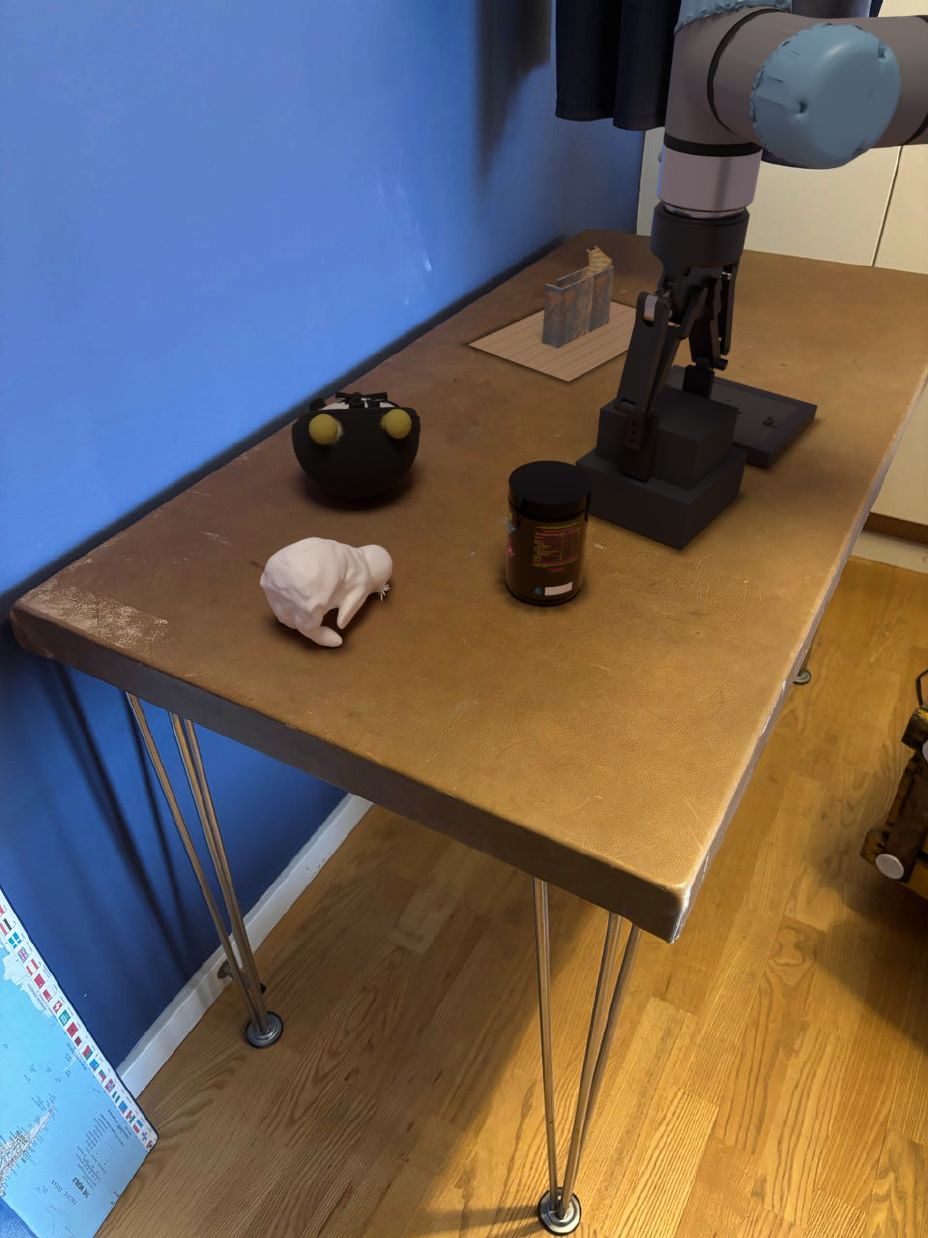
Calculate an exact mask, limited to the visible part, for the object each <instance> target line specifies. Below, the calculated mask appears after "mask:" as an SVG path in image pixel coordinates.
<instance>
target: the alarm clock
mask: <svg viewBox="0 0 928 1238" xmlns="http://www.w3.org/2000/svg"><path fill="white" fill-rule="evenodd" d="M334 399H335V400H337V402H333V403H331V404H329V405H327V404H326V403H327V402H325V400H324V399H323V397H318V398H316V399H314V400H313V401H311V402H310V403H309V406H308V408H309V411H307V412H304V413H301V414H300V415H299V416H298V417H297V419H296V421H295V422H294V423H293V424H292V425H291V443H292V447H293V448H292V449H293V451H294V455H295V457H296V460H297V462H298V464H299V466H300V468H301V469H302V470H303V472H304V473H305V474H306V476H307V477H308V478H309V479H310V480H311V481H312V482H313V483H314V484H315V485H317V487H319V488H321V489H323V490H324V491H326V492H327V493H329V494H332V495H334V496H336V497H337V496H338V497H340V498H341V497H342V498H347V499H357V500H358V499H368V498H372V497H375V496H377V495H381V494H384V493H385V492H388V491H389V490H390V489H392V488H394V487H395V486H396V485H397V484H399V483H400V482H401V481H403V479H404V478H405V476H406V475H407V474H408V472H409V470H410V469H411V468H412V466H413V464H414V462H415V460H416V457H417V454H418V451H419V447H420V446H419V445H420V436H421V430H422V429H421V428H422V427H421V426H422V425H421V417H420V415H418V413H417V410H416V409H415V408H412V407H408V406H400V405H399V404H397V403H395V402H393V401H391V400H389V397H388V392H387V391H384V392H383V391H382V392H375V393H374V392H373V393H367V394H362V392H360V391H354V392H352V393H348V392H345V391H344V392H343V391H342V392H341V391H336V393H335V394H334ZM338 400H339V401H338Z"/></svg>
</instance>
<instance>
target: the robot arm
mask: <svg viewBox="0 0 928 1238" xmlns="http://www.w3.org/2000/svg"><path fill="white" fill-rule="evenodd" d="M792 3H793V1H792V0H681V3H680V8H679V15H678V20H677V23H676V25H675V27H674V31H673V35H674V36H673V37H674V43H673V51H672V61H671V69H670V79H669V88H668V97H667V104H666V105H667V106H666V113H665V120H664V131H663V141H662V150H660V151H659V152H658V155H657V161H658V162H659V163H660V164H659V171H658V179H657V187H656V196H657V198H658V199H659V200H660V201H659V202H658V203H657V204H656V205H655V206H654V207H653V213H652V222H651V223H652V224H651V229H650V237H649V250H650V252H651V254H652V255H653V256H654V257H655V258H657V260H659V262H661V264H662V270H661V273H660V277H659V280H658V283H657V286H656V290H655V291H654V292H652V293H651V292H648V291H644V290H642V291H640V292H639V293H638V296H637V297H636V304H635V305H636V306H635V309H636V315H635V323H634V328H633V332H632V336H631V340H630V344H629V348H628V350H627V352H626V356H625V360H624V365H623V367H622V372H621V377H620V380H619V384H618V387H617V393H616V396H615V398H616V400H615V404H614V409H615V410H616V411H619V412H621V413H624V414H627V415H628V416H627V424H626V431H625V439H624V447H623V455H622V463H621V471H620V472H623V473H625V474H628V475H631V476H633V477H636V478H639V479H641V480H644V481H647V480H648V479H649V478H650V476H651V470H652V463H653V456H654V450H655V443H656V437H657V430H658V423H659V417H660V413H658V412H655V410H656V407H657V404H658V402H659V399H660V396H661V393H662V391H663V388H664V385H665V383H666V380H667V377H668V375H669V372H670V369H671V367H672V366H673V365H674V361H675V358H676V356H677V353H678V350H679V347H680V344H681V343H682V341H685V340H686V339H687V340H688V346H689V352H690V360H691V363H694V364H695V365H694V364H687V365H686V366H684V367H685V373H684V379H683V385H682V391H686V392H689V393H692V394H695V395H699V396H702V397H705V398H708V399H710V397H711V392H712V387H713V381H714V376H716V371H715V370H718V371H721V372H724V371H725V370H726V369H727V367H728V363H729V359H727V358H722V356H724V357H726V356H728V354H729V353H730V351H731V346H732V333H733V321H734V320H733V318H734V308H735V307H734V305H735V292H736V281H737V280H736V279H737V277H738V272H739V267H740V263H741V257H742V255H743V252H744V248H745V243H746V238H747V232H748V227H749V223H750V216H751V213H750V212H749V210H748V208H747V207H749V206H750V205H751V204H752V203H753V201H754V200H755V196H756V195H755V194H756V190H757V183H758V179H759V178H758V177H759V174H760V173H759V172H760V167H761V162H762V155H763V150H764V149H765V150H766V151H767V152H769V153H772V154H773V155H774V157H776V158H777V159H783V160H784V161H785V162H787V163H789V164H793V165H797V166H800V165H802V166H805V167H809V168H812V169H816V170H832V169H838V168H841V167H844V166H847V164H849V163H851V162H852V161H854V160H855V159H857V158H858V157H860V156H861V155H863V154H865V153H867V152H869V151H870V150H874V149H886V148H887V149H888V148H894V147H902V146H903V147H905V146H906V147H907V146H918V145H928V14H916V15H915V14H914V15H913V14H912V15H897V16H896V15H895V16H894V15H893V16H870V17H869V16H865V17H864V16H863V17H848V18H847V17H843V18H842V17H841V18H819V17H818V18H817V17H809V16H804V15H799V14H794V13H792V12H793V4H792ZM669 322H671V323H674V324H673V325H668V323H669ZM675 325H678V326H675Z"/></svg>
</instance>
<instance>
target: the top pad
mask: <svg viewBox="0 0 928 1238" xmlns="http://www.w3.org/2000/svg"><path fill="white" fill-rule="evenodd" d="M615 400H616V397H614V398H613V399H612V400H610V401H608V402H607V403H606V404H604V405H603V406H601V407H600V408H599V416H598V417H599V418H598V425H597V426H598V427H597V437H596V445H595V447H596V454H595V456H597V457H600V458H602V459H605V460H608V461H611V462H613V463H616V464H619V465H621V463H622V455H623V447H624V439H625V431H626V424H627V416H628V415H627V414H624V413H621V412H619V411H616V410H615V409H614V404H615ZM738 411H739V408H737V407H734V406H731V405H727V404H724V403H721V402H718V401H715V400H711V399H708V398H705V397H702V396H699V395H695V394H692V393H689V392H686V391H682V390H679V389H676V388H673V387H670V386H666V385H664V388H663V391H662V393H661V396H660V399H659V402H658V404H657V407H656V410H655V412H658V413H660V417H659V423H658V430H657V437H656V443H655V450H654V456H653V463H652V470H651V477H654V478H657V479H659V480H662V481H665V482H668V483H670V484H673V485H676V486H679V487H681V488H684V489H687V490H690V489H692V488H693V487H694V486H695V485H696V484H697V483H698V482H700V481H701V480H702V479H703V478H704V477H705V476H706V475H708V474H709V473H710V472H711V471H712V470H713V469H714V468H716V467H717V466H718V465H719V464H720V463H721V462H722V461H724V460H725V459H726V458H727V457H728V456H729V453H730V449H731V444H732V439H733V434H734V430H735V425H736V420H737V415H738Z"/></svg>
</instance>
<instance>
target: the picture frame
mask: <svg viewBox="0 0 928 1238" xmlns="http://www.w3.org/2000/svg"><path fill="white" fill-rule="evenodd" d="M685 367H686V366H682V365H680V364H679V365H678V364H673V365H672V366H671V369H670V372H669V375H668V377H667V380H666V383H665V385H666V386H670V387H673V388H676V389H679V390H682V385H683V379H684V373H685ZM710 399H711V400H715V401H718V402H721V403H724V404H727V405H731V406H734V407H737V408H739V411H738V415H737V420H736V425H735V430H734V434H733V439H732V444H731V446H733V447H736V448H739V449H742V450H745V451H748V455H747V459H746V463H747V464H751V465H753V466H757V467H760V468H763V469H768V468H769V467H770V466H771V465H772V464H773V463H774V462H775V461H776V460H777V459H778V458H779V457H780V456H781V454H783V453H784V452H785V451H786V450H787V449H788V448H789V446H790V445H792V443H794V442H795V440H796V439H798V438H799V436H800V435H801V434H803V432H804V431H806V430H807V428H809V426H810V425H811V424H812V423H813V422H814V421H815V417H816V413H817V410H818V407H819V405H818V404H815V403H812V402H807V401H804V400H801V399H797V398H793V397H789V396H786V395H783V394H780V393H775V392H772V391H769V390H766V389H762V388H759V387H754V386H752V385H748V384H744V383H741V382H738V381H735V380H730V379H728V378H724V377H720V376H716V375H715V376H714V381H713V387H712V392H711V397H710Z"/></svg>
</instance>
